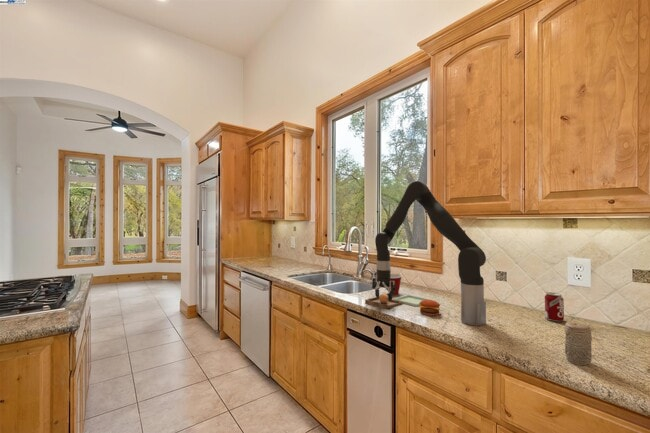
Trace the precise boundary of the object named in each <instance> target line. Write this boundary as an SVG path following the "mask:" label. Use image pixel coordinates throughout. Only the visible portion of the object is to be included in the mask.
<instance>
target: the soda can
mask: <svg viewBox="0 0 650 433" xmlns="http://www.w3.org/2000/svg"><path fill="white" fill-rule="evenodd" d="M564 303H565V302H564V298H563V296H562V294H561V293H558V292H549V291H547V292H545V295H544V318H545V319H547V320H548V321H550V322H555V323H561V322H564V321H565V310H564V309H565V306H564Z"/></svg>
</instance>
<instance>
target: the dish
mask: <svg viewBox="0 0 650 433" xmlns="http://www.w3.org/2000/svg"><path fill="white" fill-rule="evenodd" d="M392 300H397V301H401V302H403V304H404V305H408V306H412V307H415V308H416V307H420V304H419V303H420V302H421V301H423V300H433V299H431V298H427V297H422V296H417V295H412V294H405V295H401V296H397V297H394V298H392ZM403 304H402V305H403Z"/></svg>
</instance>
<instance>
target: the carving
mask: <svg viewBox="0 0 650 433" xmlns="http://www.w3.org/2000/svg"><path fill="white" fill-rule="evenodd" d="M564 333H565V338H564V339H565V340H564V353H565V358H566V360H567V361H568V362H570V363H571V364H575V365H578V366H587V365H589V364H591V363H592V356H593V354H592V351H593V350H592V340H593V337H592V330H591V327H590V326H589V325H588V324H585V323H580V322H571V321H568V322H566V323H565V325H564Z"/></svg>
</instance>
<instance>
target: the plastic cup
mask: <svg viewBox="0 0 650 433" xmlns="http://www.w3.org/2000/svg"><path fill="white" fill-rule="evenodd" d="M402 277H403V275H402V274H399V273H391V277H390V281H395V286H396V292H393V293H392V296H395V295H399V293H400V287H401V280H402ZM390 286H391V285H390Z"/></svg>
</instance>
